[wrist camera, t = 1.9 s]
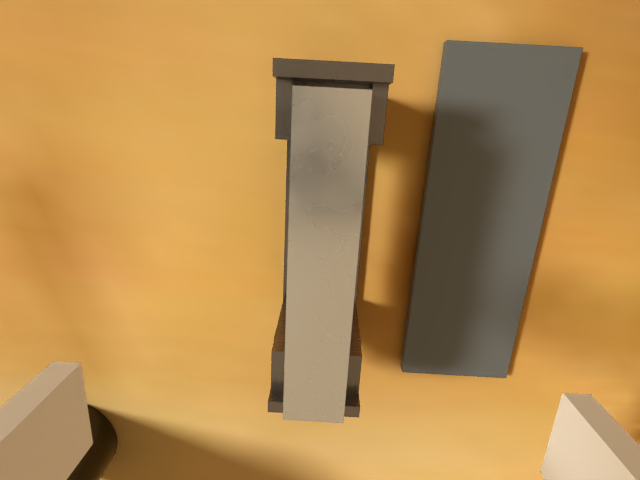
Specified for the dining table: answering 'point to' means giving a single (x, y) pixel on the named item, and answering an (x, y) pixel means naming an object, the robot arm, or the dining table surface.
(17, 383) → the dining table surface
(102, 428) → the water bottle
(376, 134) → the rack
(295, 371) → the rail
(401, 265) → the dining table surface
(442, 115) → the mat
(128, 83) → the dining table surface
